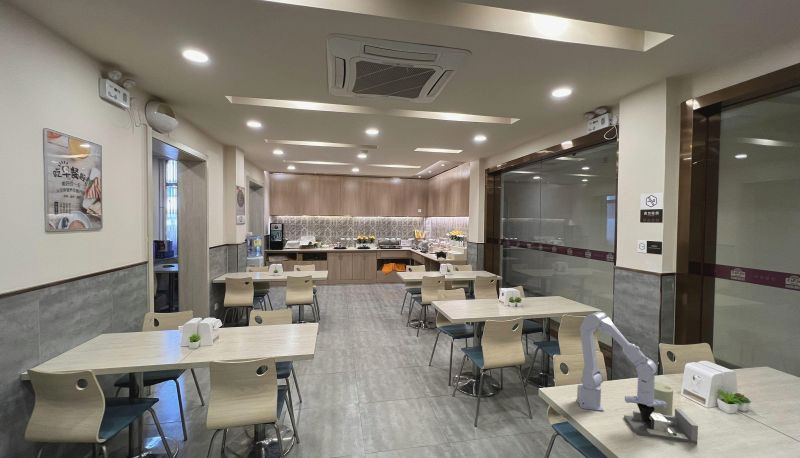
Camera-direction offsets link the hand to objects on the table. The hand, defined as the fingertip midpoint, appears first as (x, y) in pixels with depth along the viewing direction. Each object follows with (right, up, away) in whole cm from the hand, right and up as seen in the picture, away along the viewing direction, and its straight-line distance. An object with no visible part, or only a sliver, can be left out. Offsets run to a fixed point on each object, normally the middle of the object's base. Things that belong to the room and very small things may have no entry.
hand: (644, 421), depth 140 cm
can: (+16, -3, +13) cm, 21 cm away
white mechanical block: (+5, -2, -3) cm, 6 cm away
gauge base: (+5, -3, -1) cm, 6 cm away
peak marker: (+6, -1, -7) cm, 9 cm away
